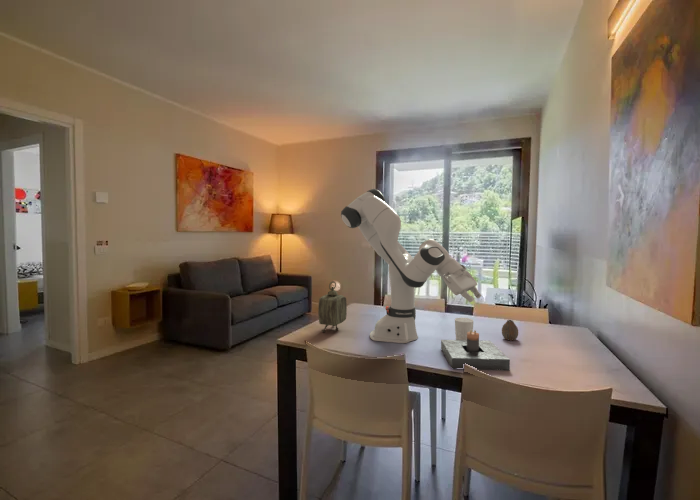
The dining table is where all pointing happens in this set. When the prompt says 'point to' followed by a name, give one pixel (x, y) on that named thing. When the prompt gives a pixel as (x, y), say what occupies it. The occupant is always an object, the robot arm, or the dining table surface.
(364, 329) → the dining table surface
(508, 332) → the brown textured egg shape
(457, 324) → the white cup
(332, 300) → the tabletop clock
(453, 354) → the socket block
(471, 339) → the plug
